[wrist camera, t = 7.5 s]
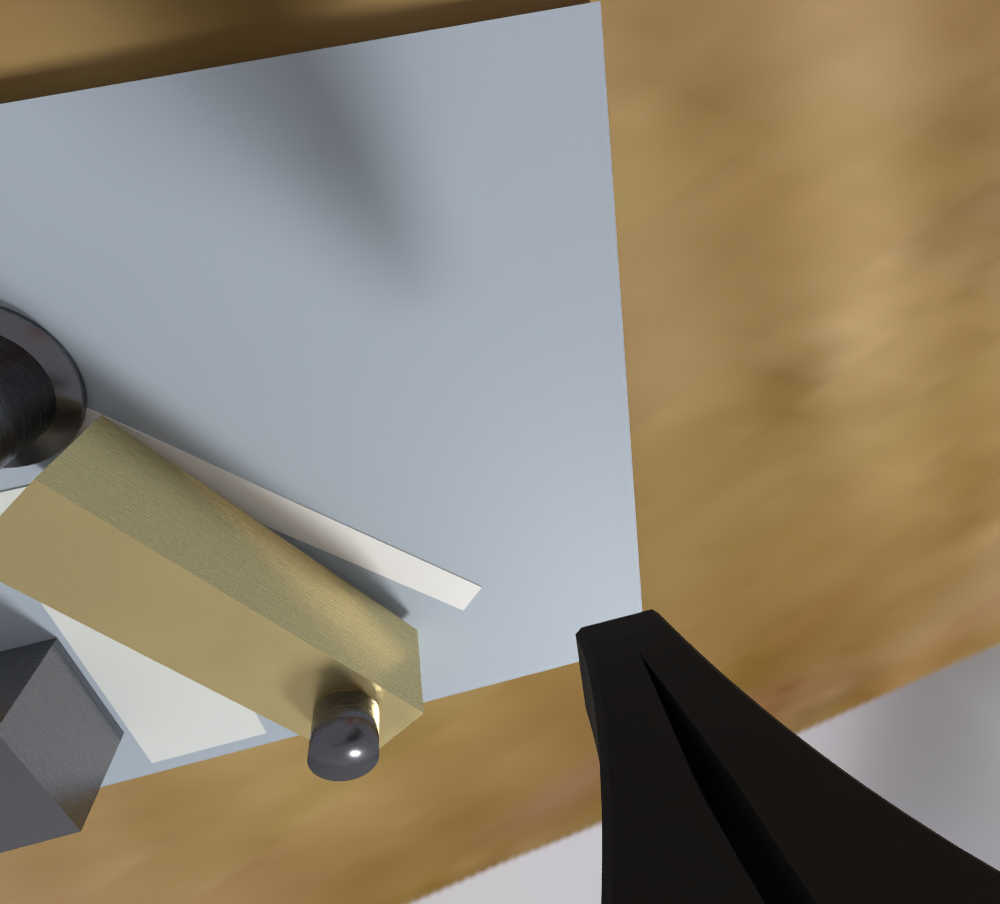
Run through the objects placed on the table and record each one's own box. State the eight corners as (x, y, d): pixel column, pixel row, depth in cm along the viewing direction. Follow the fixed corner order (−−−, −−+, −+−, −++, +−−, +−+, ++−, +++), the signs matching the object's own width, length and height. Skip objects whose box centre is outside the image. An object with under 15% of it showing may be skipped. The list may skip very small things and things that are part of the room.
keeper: (42, 753, 18) (-16, 857, 15) (-35, 659, 16) (-115, 758, 14) (124, 733, 18) (80, 831, 16) (57, 637, 16) (-5, 731, 14)
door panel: (79, 779, 19) (71, 795, 19) (-403, 177, 11) (-439, 179, 11) (638, 634, 21) (644, 645, 20) (592, 6, 13) (600, 0, 12)
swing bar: (37, 483, 14) (-86, 603, 10) (102, 414, 14) (-3, 514, 10) (361, 676, 18) (357, 809, 15) (417, 630, 18) (426, 754, 14)
